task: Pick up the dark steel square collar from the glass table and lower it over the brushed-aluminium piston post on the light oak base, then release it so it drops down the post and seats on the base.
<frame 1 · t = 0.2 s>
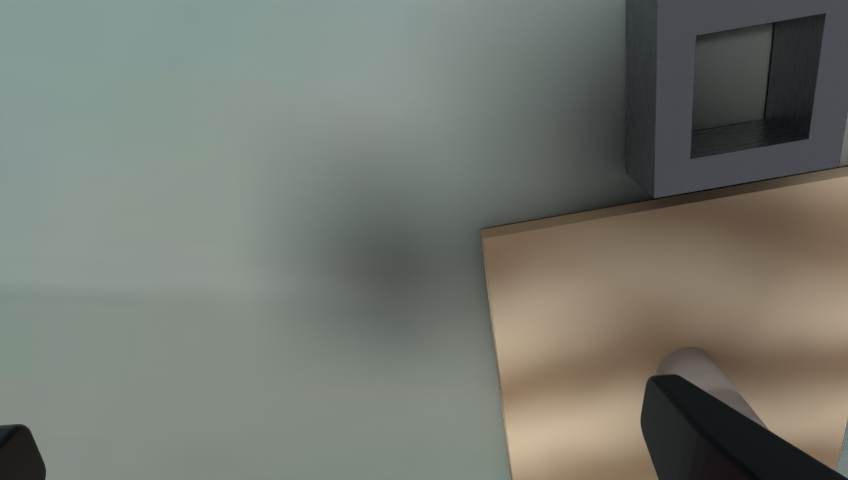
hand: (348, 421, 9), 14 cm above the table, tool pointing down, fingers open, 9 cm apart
collar: (715, 74, 22), on the table
piston stand: (675, 358, 27), on the table
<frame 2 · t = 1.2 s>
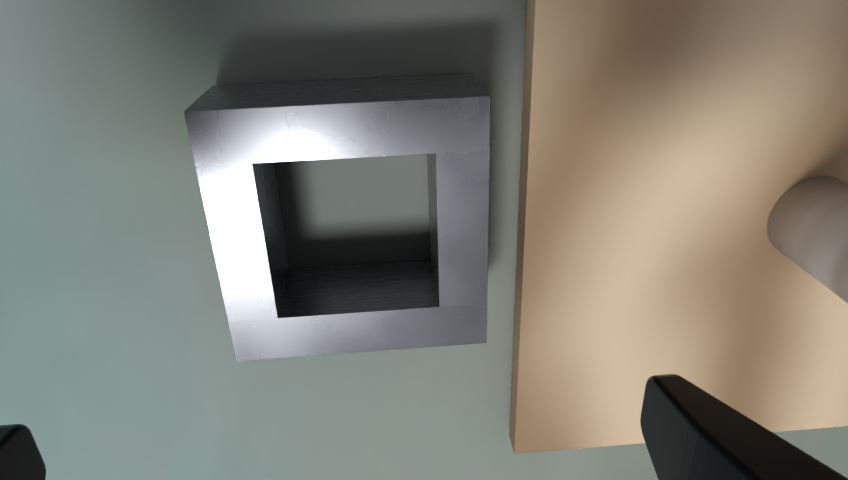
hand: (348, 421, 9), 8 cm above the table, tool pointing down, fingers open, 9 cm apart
collar: (354, 199, 16), on the table
piston stand: (791, 205, 17), on the table
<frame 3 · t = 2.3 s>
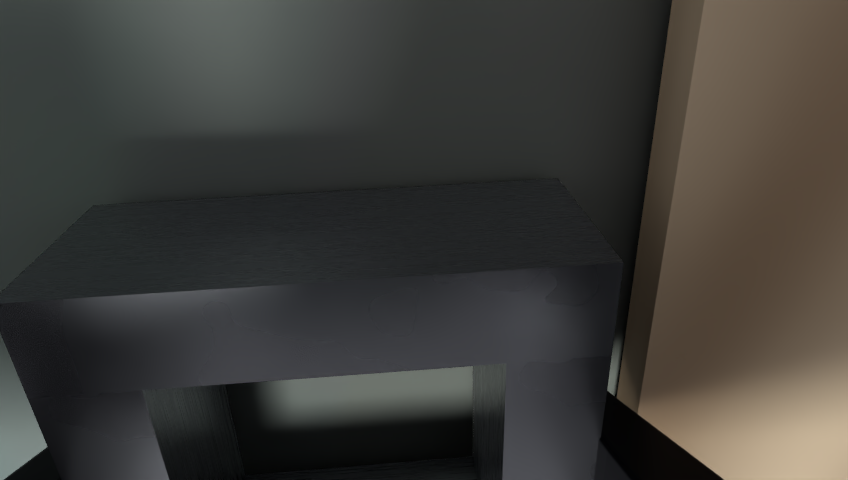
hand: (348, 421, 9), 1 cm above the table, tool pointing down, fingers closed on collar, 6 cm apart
collar: (350, 375, 10), on the table, touching gripper
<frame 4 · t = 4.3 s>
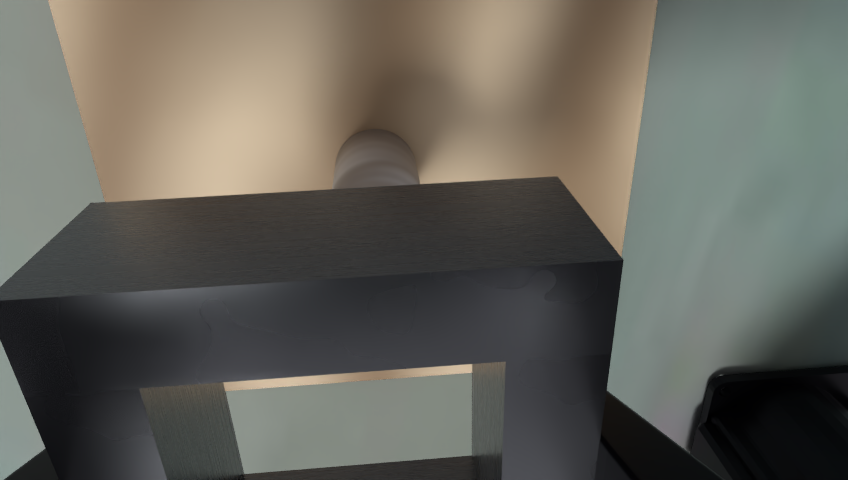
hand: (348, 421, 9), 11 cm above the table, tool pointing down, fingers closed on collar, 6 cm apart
collar: (349, 374, 10), point 10 cm above the table, touching gripper
piston stand: (375, 159, 19), on the table
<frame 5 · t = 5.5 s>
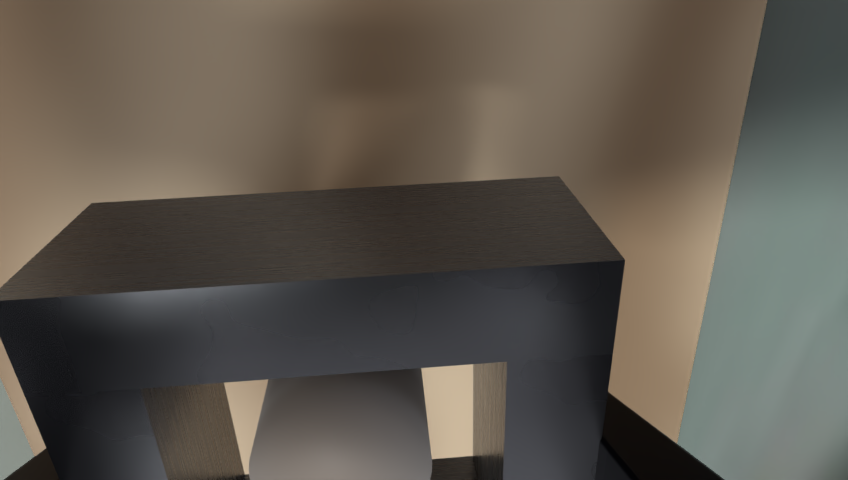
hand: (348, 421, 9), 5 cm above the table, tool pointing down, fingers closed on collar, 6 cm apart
collar: (350, 374, 10), point 4 cm above the table, touching gripper
piston stand: (354, 251, 14), on the table
when the fingers open (5 cm above the table, at t = 6.5 s): collar drops 3 cm, resting on piston stand.
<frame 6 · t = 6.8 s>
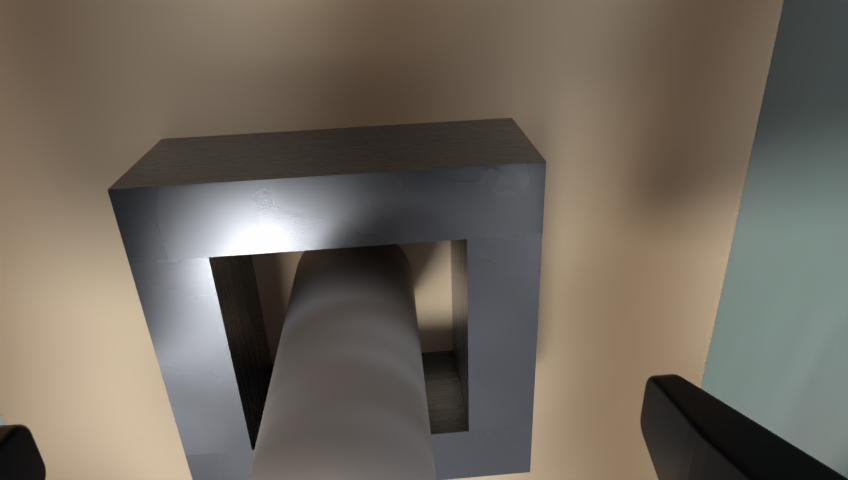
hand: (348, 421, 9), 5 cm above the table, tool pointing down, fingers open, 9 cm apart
collar: (355, 279, 13), point 1 cm above the table, touching piston stand
piston stand: (355, 261, 13), on the table
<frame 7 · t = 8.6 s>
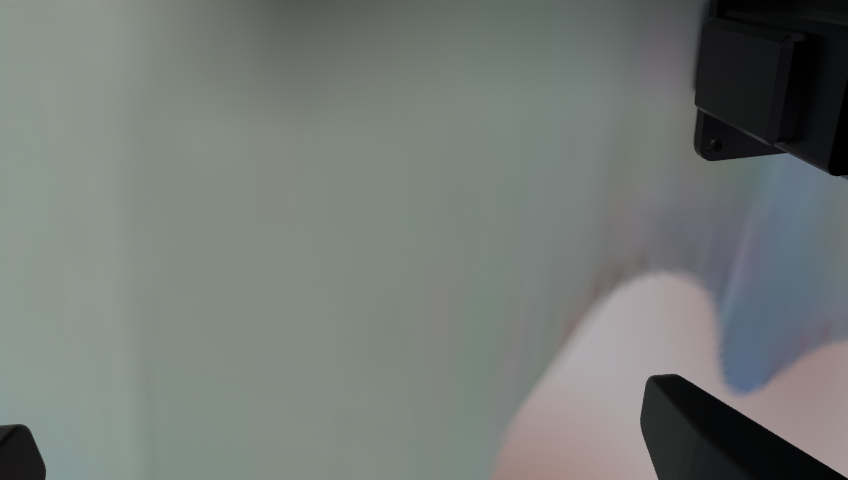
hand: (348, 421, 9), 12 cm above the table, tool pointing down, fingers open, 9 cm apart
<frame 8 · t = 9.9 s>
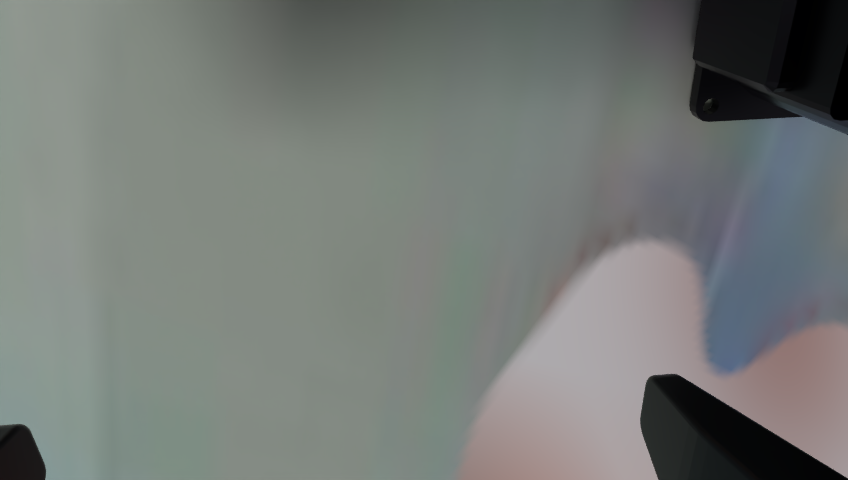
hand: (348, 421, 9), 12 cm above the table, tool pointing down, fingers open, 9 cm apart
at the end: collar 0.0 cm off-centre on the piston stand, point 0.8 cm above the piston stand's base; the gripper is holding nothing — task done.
